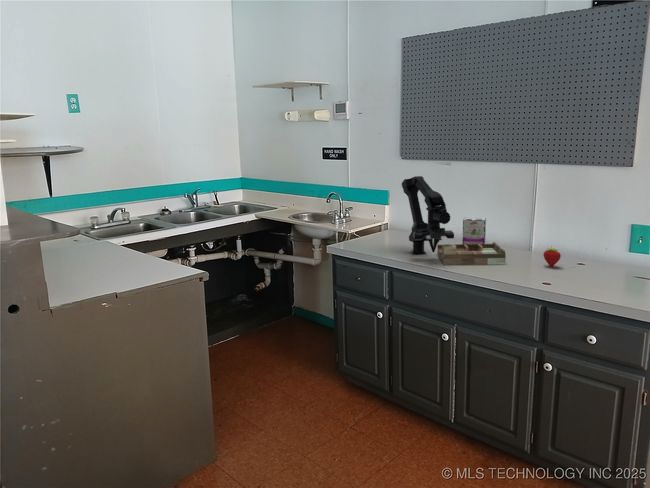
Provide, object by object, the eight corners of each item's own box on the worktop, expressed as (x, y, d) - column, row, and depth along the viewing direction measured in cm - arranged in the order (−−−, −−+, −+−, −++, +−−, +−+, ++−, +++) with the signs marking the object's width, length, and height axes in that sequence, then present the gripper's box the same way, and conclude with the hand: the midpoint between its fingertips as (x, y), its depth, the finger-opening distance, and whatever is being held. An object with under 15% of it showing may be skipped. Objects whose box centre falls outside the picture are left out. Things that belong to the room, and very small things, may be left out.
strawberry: (555, 269, 223) (556, 247, 221) (539, 266, 229) (541, 244, 227) (562, 267, 226) (564, 245, 224) (547, 263, 232) (548, 242, 230)
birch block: (442, 252, 247) (442, 244, 246) (453, 251, 247) (453, 243, 246) (444, 254, 242) (444, 246, 241) (455, 254, 242) (456, 246, 241)
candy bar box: (485, 248, 263) (486, 218, 259) (484, 251, 258) (485, 219, 254) (463, 247, 267) (464, 217, 263) (461, 249, 262) (462, 218, 258)
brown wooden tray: (437, 254, 255) (437, 242, 254) (493, 253, 253) (494, 241, 252) (443, 265, 236) (444, 252, 234) (505, 264, 234) (505, 251, 232)
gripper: (415, 224, 234) (415, 256, 238) (456, 223, 233) (455, 256, 236) (413, 219, 245) (413, 250, 248) (452, 218, 243) (451, 250, 247)
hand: (433, 252), depth 245 cm, fingers closed
